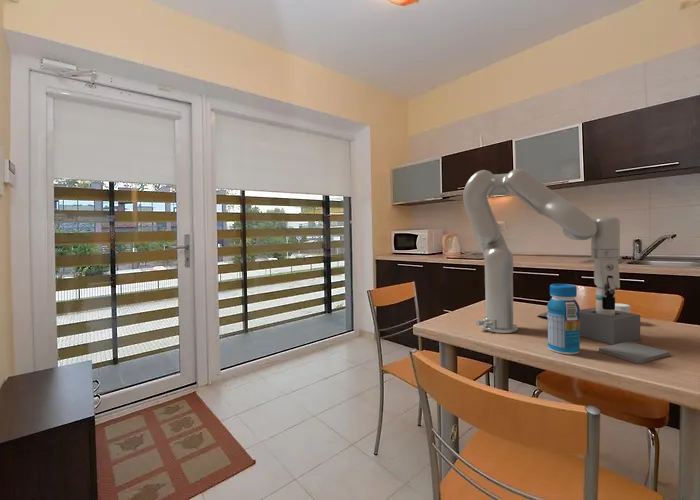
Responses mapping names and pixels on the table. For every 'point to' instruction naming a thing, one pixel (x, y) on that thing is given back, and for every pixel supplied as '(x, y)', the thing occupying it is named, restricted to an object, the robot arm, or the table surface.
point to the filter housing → (609, 326)
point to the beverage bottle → (563, 319)
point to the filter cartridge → (599, 304)
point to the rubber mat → (634, 352)
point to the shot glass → (622, 307)
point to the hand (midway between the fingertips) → (605, 306)
